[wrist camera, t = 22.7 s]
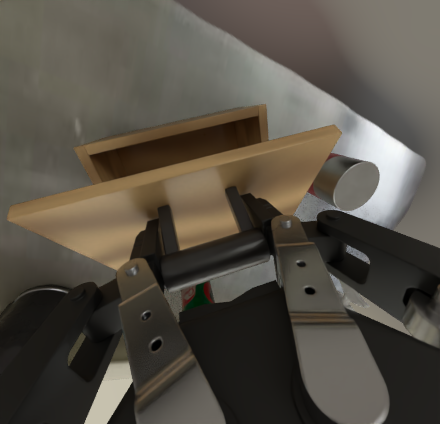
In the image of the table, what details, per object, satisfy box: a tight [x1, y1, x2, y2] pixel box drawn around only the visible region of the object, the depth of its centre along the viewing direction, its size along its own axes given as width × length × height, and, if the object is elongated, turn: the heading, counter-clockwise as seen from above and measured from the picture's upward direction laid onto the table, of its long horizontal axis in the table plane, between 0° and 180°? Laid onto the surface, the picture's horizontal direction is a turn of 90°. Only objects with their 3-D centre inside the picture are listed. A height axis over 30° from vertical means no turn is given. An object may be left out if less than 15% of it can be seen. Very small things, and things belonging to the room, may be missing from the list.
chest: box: [74, 104, 269, 185], centre depth 24 cm, size 15×17×9 cm
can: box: [307, 153, 379, 211], centre depth 25 cm, size 5×5×12 cm
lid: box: [7, 125, 342, 293], centre depth 15 cm, size 15×17×5 cm
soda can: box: [181, 280, 215, 312], centre depth 30 cm, size 5×5×12 cm
